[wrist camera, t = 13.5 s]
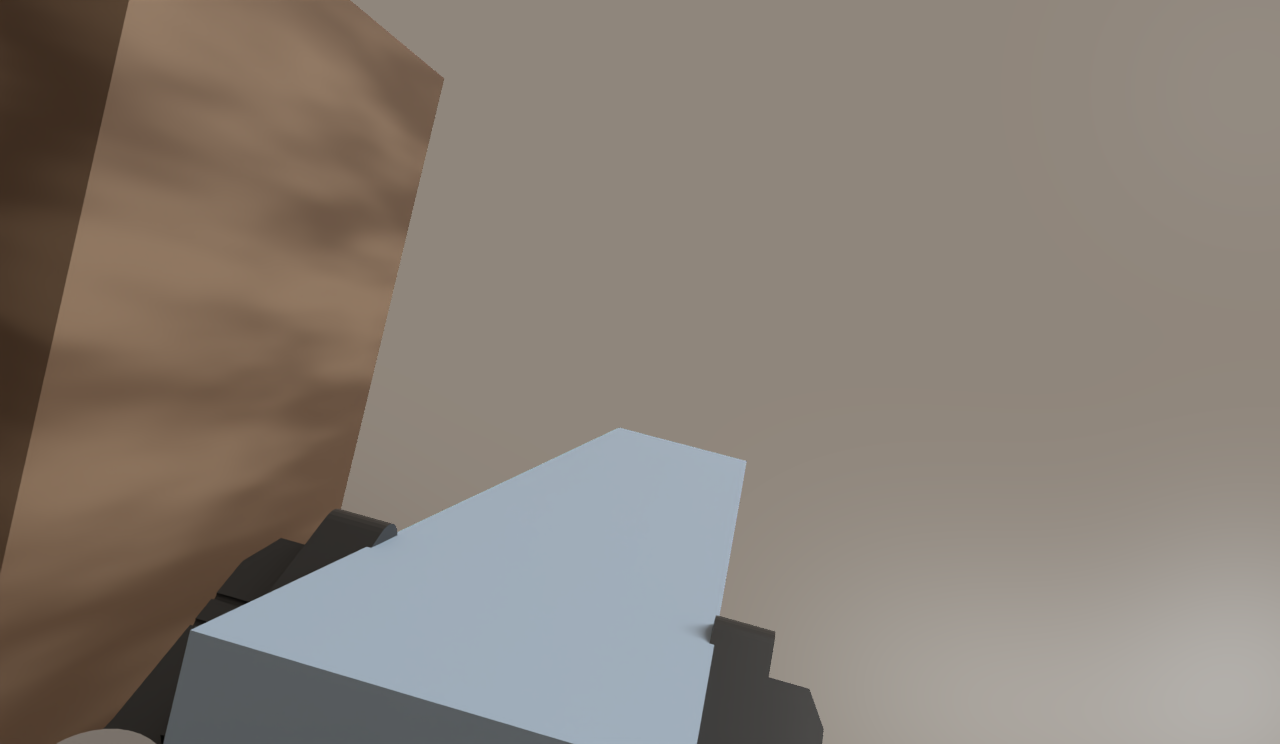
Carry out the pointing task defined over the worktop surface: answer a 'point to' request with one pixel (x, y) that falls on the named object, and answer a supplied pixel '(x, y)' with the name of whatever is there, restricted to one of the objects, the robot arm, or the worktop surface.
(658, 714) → the blue-grey square bar
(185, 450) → the rack
